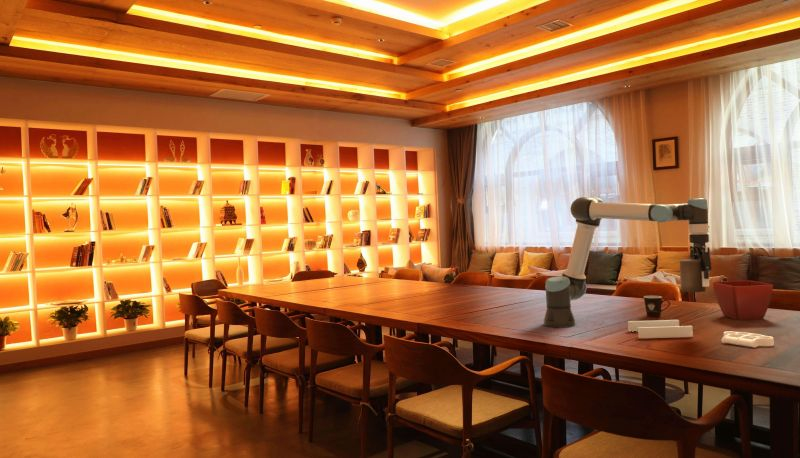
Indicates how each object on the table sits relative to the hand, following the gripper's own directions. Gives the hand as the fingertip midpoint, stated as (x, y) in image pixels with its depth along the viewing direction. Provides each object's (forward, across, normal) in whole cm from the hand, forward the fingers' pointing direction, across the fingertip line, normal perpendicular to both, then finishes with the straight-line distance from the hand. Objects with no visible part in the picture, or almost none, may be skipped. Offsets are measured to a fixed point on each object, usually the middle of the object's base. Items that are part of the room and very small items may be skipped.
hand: (700, 285), depth 242 cm
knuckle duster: (+21, -21, -8) cm, 31 cm away
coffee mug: (+21, +41, +5) cm, 46 cm away
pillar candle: (+3, 0, +3) cm, 4 cm away
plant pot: (+21, +32, -33) cm, 50 cm away
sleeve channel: (+21, 0, +18) cm, 28 cm away
